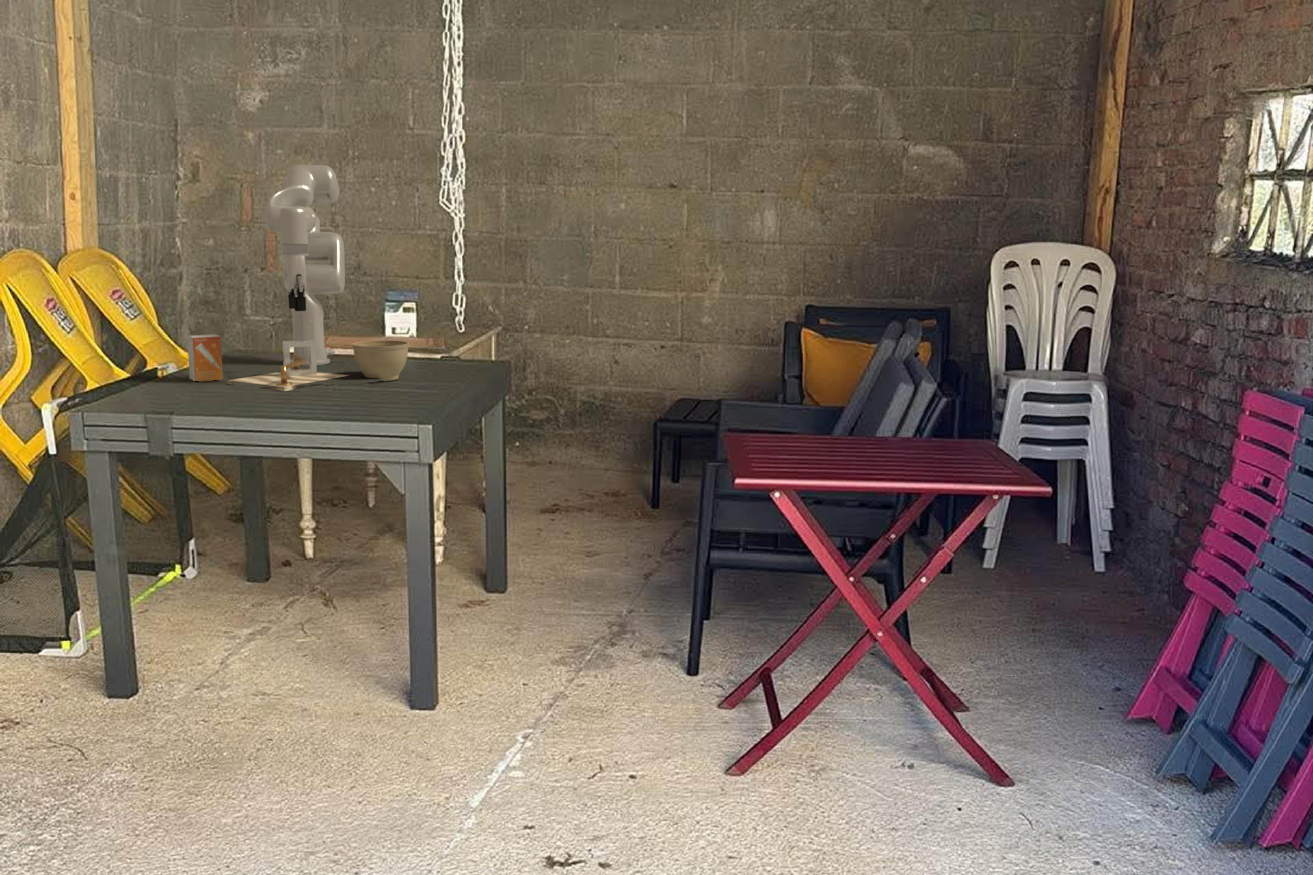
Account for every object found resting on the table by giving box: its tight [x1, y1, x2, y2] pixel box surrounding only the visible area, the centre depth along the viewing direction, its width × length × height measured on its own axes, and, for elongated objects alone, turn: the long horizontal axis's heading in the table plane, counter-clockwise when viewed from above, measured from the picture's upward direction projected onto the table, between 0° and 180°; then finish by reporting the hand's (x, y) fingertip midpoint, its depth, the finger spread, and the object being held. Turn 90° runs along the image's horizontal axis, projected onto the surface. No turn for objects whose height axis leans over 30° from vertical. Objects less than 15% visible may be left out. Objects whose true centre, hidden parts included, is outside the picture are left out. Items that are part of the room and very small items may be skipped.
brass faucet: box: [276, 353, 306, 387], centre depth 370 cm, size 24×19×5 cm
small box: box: [186, 333, 224, 382], centre depth 372 cm, size 8×6×13 cm
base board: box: [227, 371, 350, 392], centre depth 371 cm, size 26×22×1 cm
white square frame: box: [281, 340, 318, 376], centre depth 376 cm, size 3×9×10 cm, turn 115°
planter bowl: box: [352, 339, 410, 382], centre depth 376 cm, size 16×16×11 cm
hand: (297, 309), depth 373 cm, fingers open, 9 cm apart
